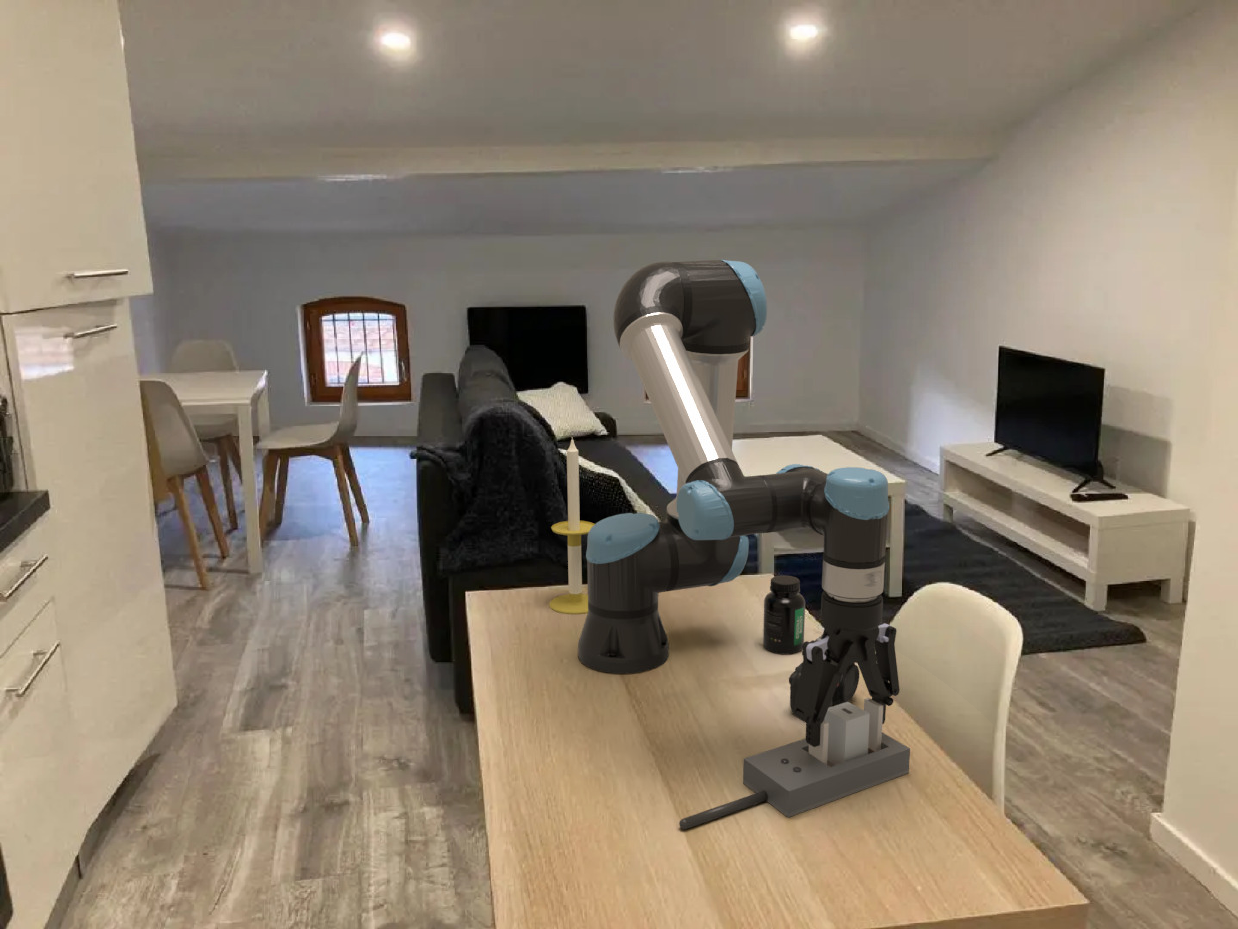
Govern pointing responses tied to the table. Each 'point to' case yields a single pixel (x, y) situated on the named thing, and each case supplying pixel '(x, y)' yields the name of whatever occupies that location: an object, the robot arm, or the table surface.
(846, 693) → the camera
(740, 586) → the table surface
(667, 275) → the robot arm
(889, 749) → the power strip
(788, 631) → the supplement bottle
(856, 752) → the block
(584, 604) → the candle
